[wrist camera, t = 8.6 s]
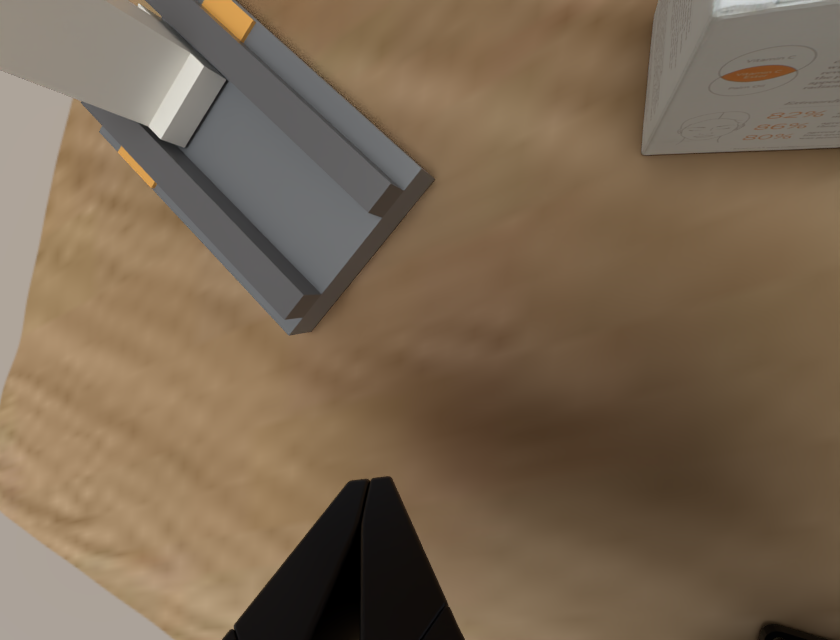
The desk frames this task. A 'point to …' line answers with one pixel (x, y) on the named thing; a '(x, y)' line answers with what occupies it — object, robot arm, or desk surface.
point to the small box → (743, 76)
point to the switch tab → (110, 61)
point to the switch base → (273, 168)
